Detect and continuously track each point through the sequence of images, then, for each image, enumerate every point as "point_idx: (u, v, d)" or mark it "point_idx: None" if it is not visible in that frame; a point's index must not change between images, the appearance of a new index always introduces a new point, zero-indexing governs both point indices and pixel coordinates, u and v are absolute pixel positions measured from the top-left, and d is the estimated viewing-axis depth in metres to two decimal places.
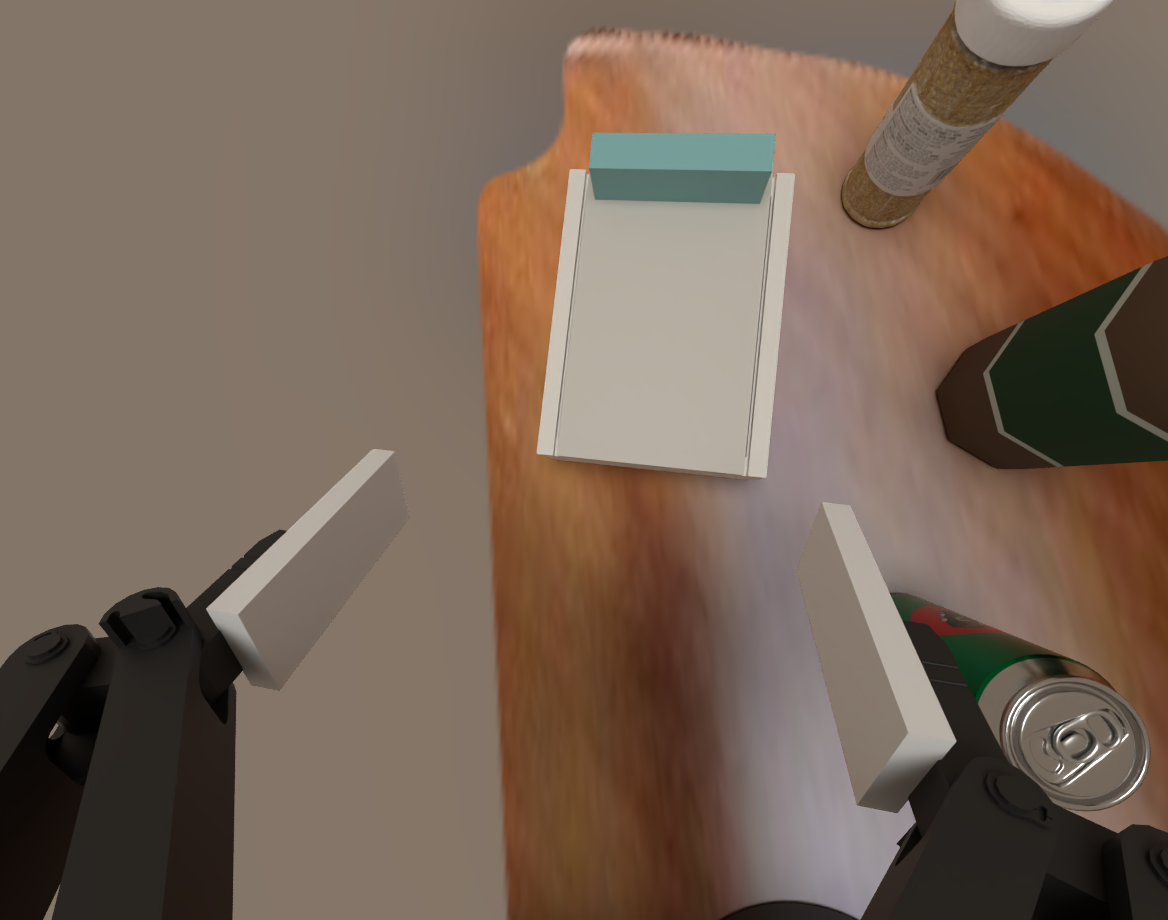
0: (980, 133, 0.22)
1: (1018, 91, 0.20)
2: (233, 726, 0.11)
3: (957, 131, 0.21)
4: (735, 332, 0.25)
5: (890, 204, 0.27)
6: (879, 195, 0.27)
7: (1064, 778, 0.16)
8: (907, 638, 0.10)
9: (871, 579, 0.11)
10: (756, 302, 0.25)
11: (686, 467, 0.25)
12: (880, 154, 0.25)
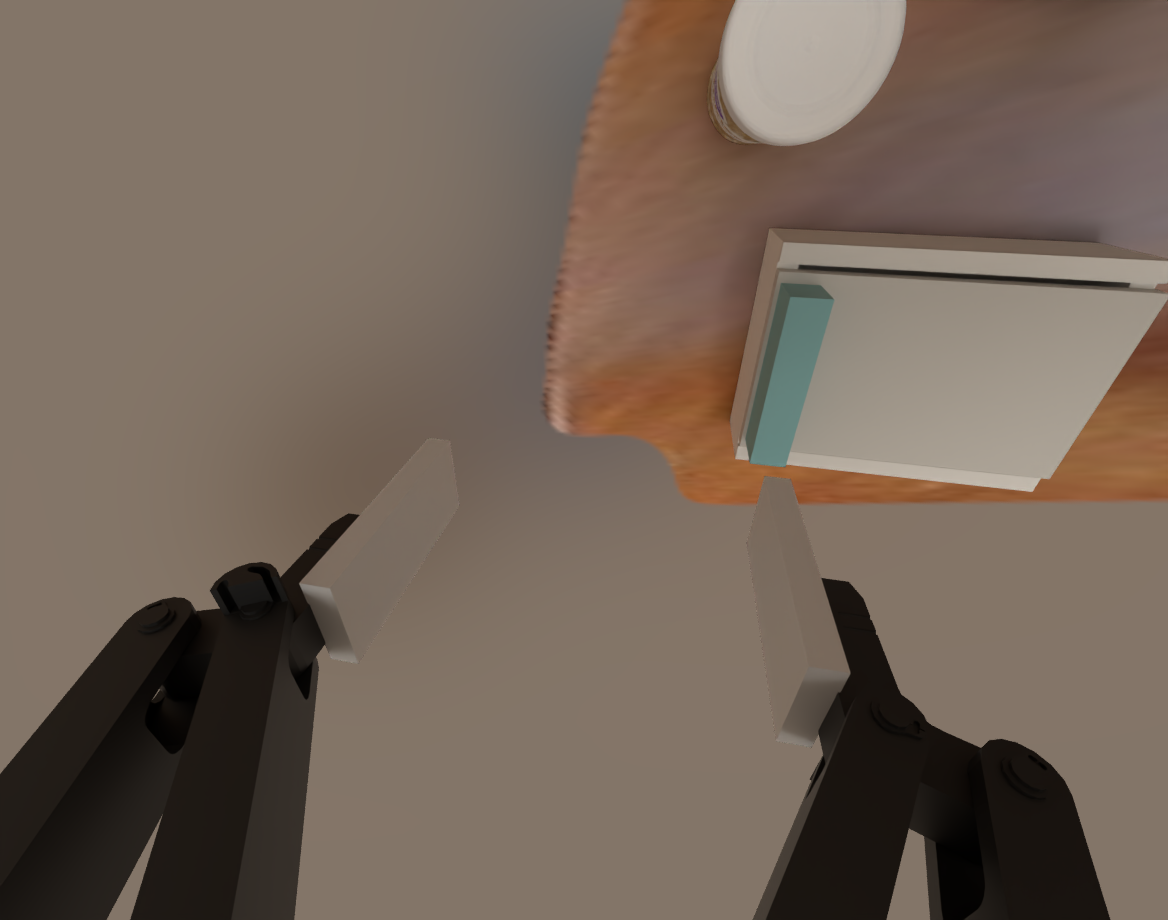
0: None
1: None
2: (313, 701, 0.11)
3: None
4: (973, 307, 0.22)
5: None
6: None
7: None
8: (822, 590, 0.11)
9: (798, 541, 0.12)
10: (943, 284, 0.22)
11: (1127, 357, 0.22)
12: None
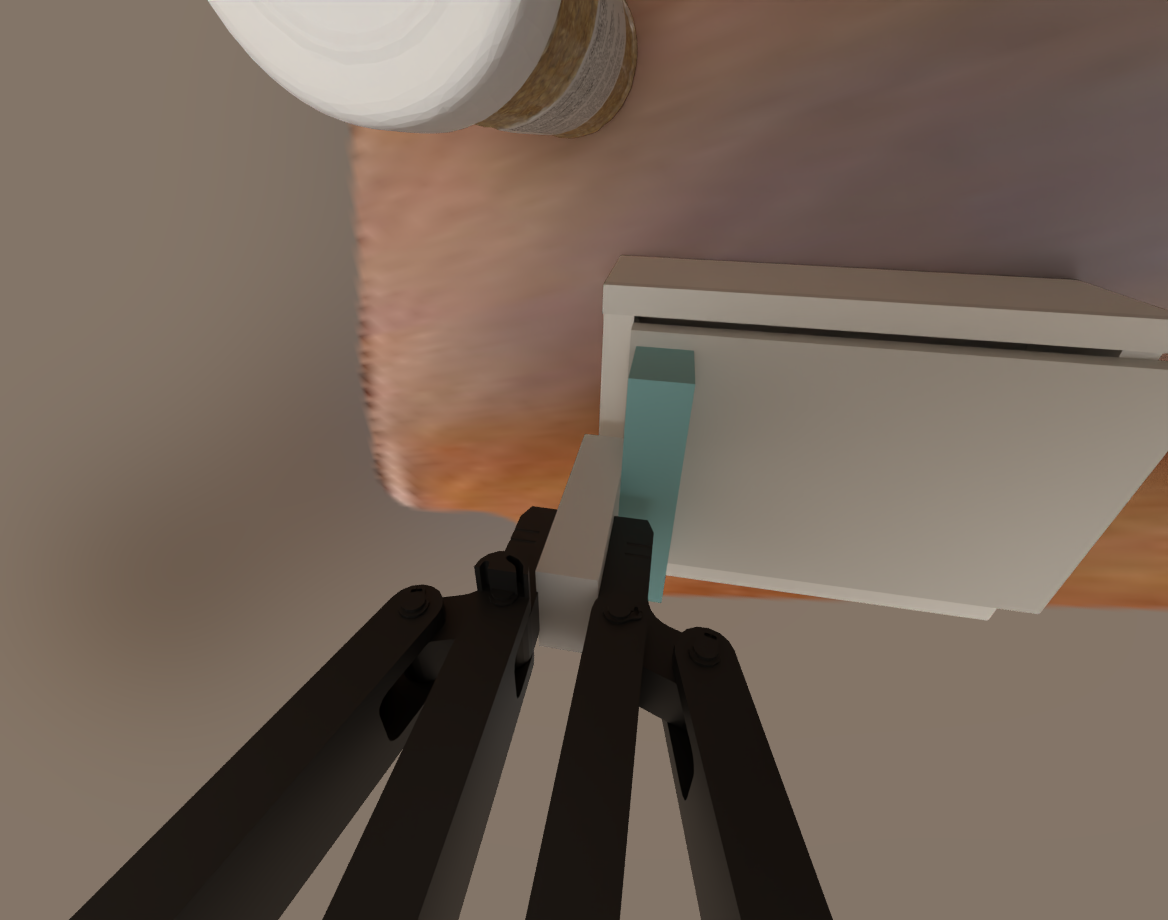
0: None
1: None
2: (522, 700, 0.11)
3: None
4: (921, 387, 0.15)
5: (625, 57, 0.14)
6: (613, 89, 0.14)
7: None
8: (609, 522, 0.13)
9: (607, 486, 0.14)
10: (873, 353, 0.14)
11: (1155, 462, 0.15)
12: (571, 122, 0.13)
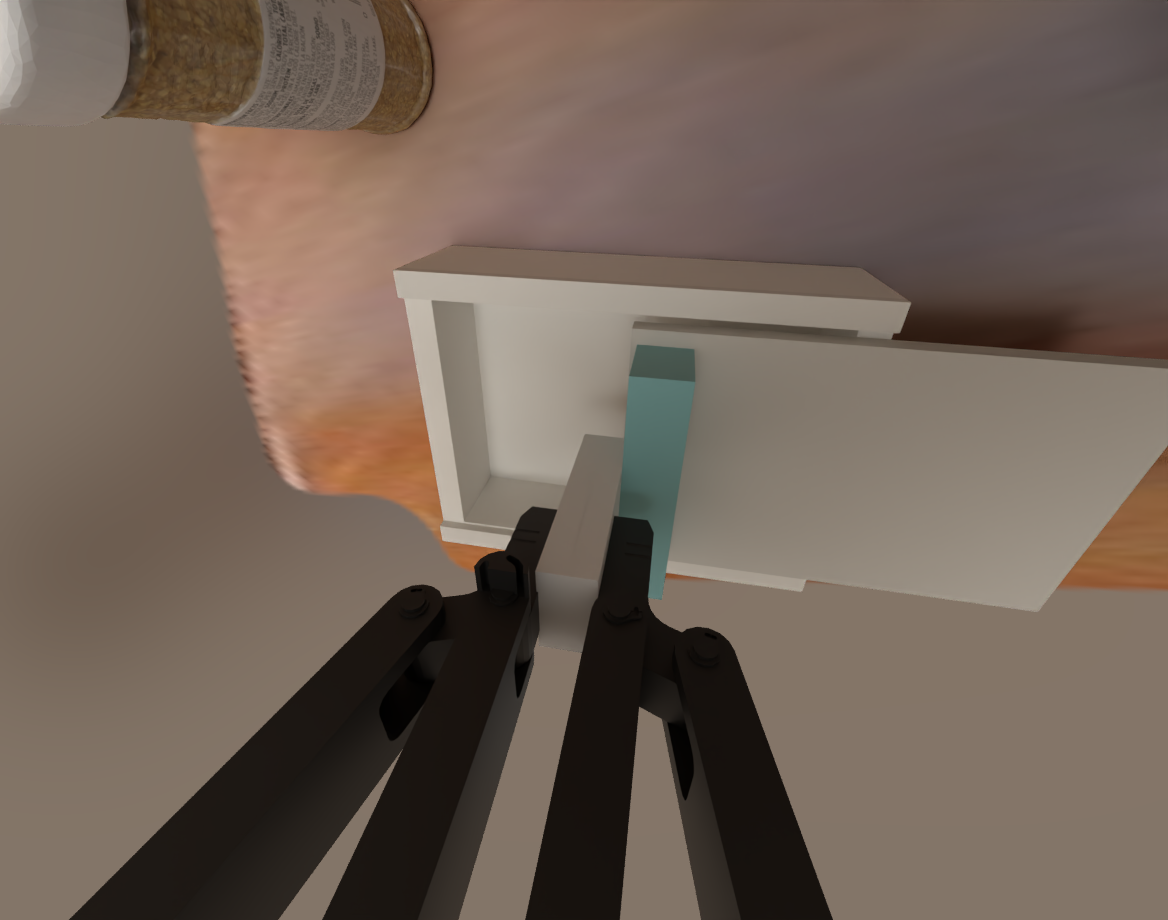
0: None
1: None
2: (522, 700, 0.11)
3: (268, 8, 0.10)
4: (920, 385, 0.15)
5: (398, 58, 0.15)
6: (388, 88, 0.15)
7: None
8: (608, 522, 0.13)
9: (607, 486, 0.14)
10: (872, 352, 0.14)
11: (1152, 460, 0.15)
12: (331, 118, 0.14)
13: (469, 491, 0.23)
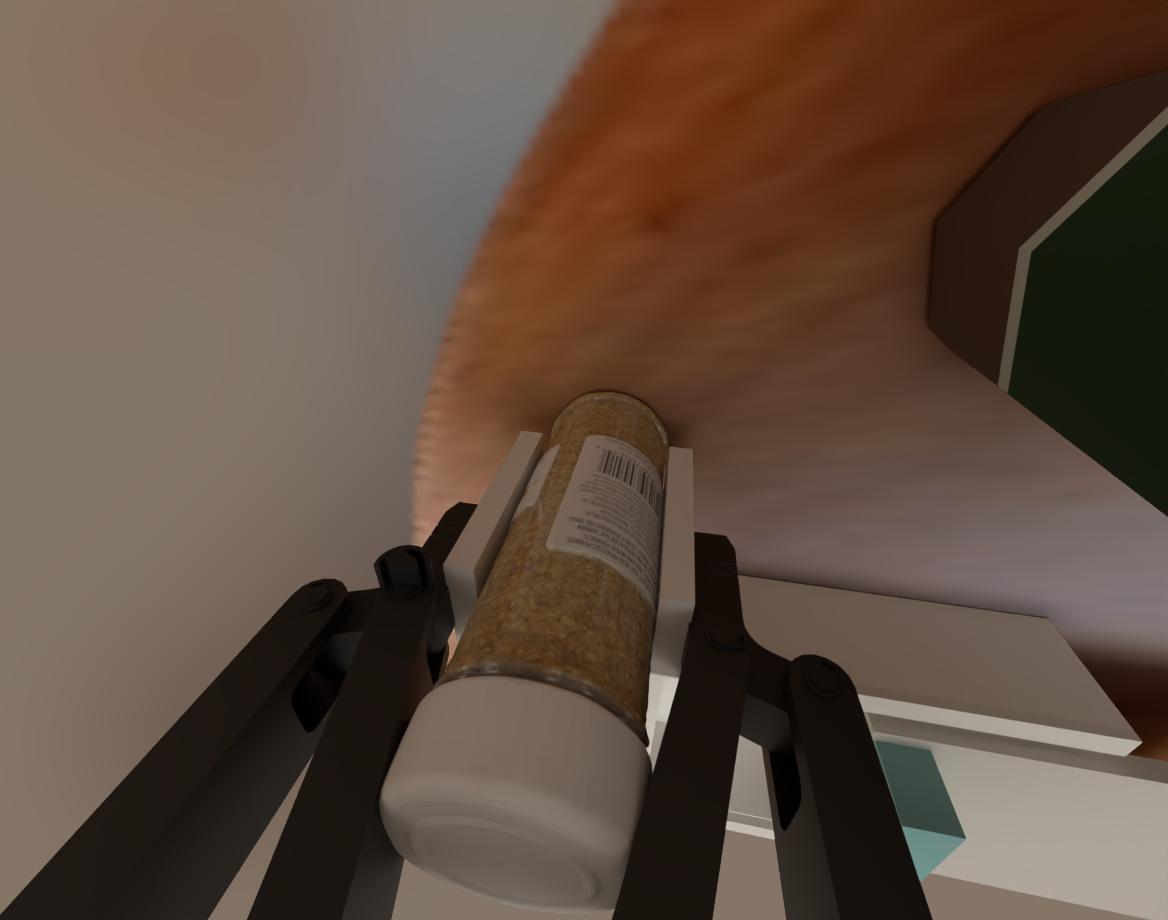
0: (648, 570, 0.12)
1: (635, 644, 0.10)
2: None
3: None
4: (1145, 799, 0.16)
5: None
6: None
7: None
8: (692, 540, 0.12)
9: (683, 500, 0.14)
10: (1105, 775, 0.16)
11: None
12: None
13: None
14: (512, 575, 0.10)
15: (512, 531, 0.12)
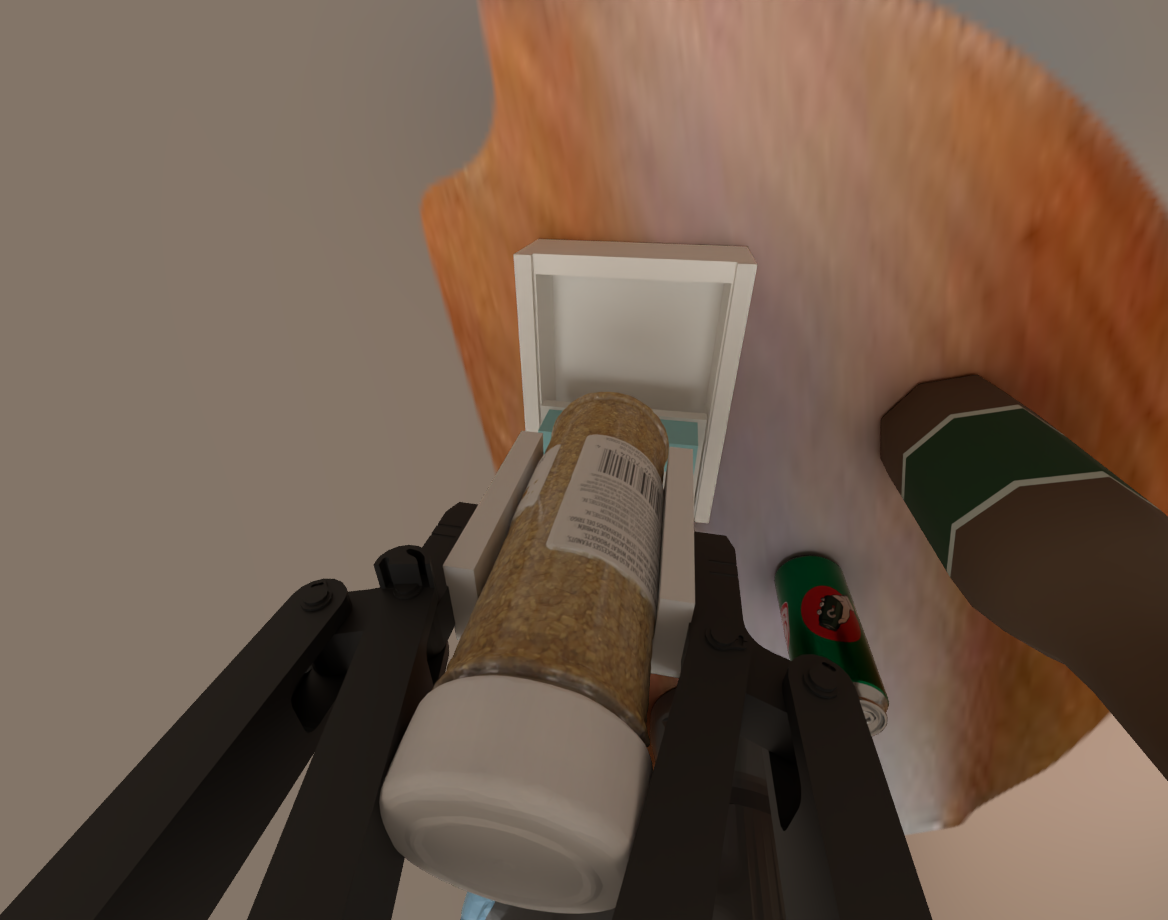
0: (648, 569, 0.12)
1: (635, 643, 0.10)
2: None
3: None
4: None
5: None
6: None
7: None
8: (692, 540, 0.12)
9: (683, 500, 0.14)
10: None
11: None
12: None
13: None
14: (513, 574, 0.10)
15: (512, 530, 0.12)
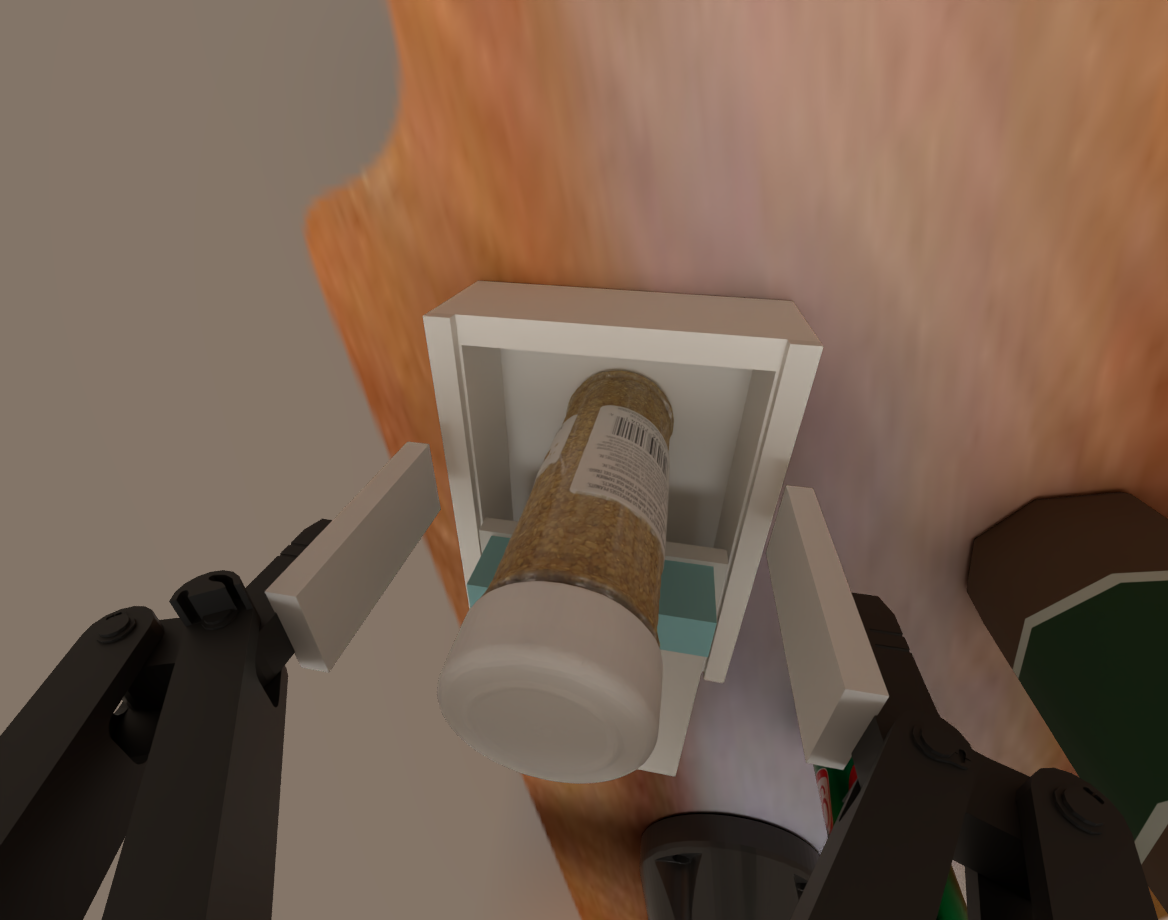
0: (657, 514, 0.13)
1: (647, 568, 0.12)
2: (284, 710, 0.11)
3: (663, 563, 0.14)
4: (670, 697, 0.23)
5: None
6: None
7: None
8: (854, 607, 0.11)
9: (826, 554, 0.12)
10: (695, 679, 0.22)
11: None
12: None
13: None
14: (542, 513, 0.12)
15: (538, 484, 0.14)
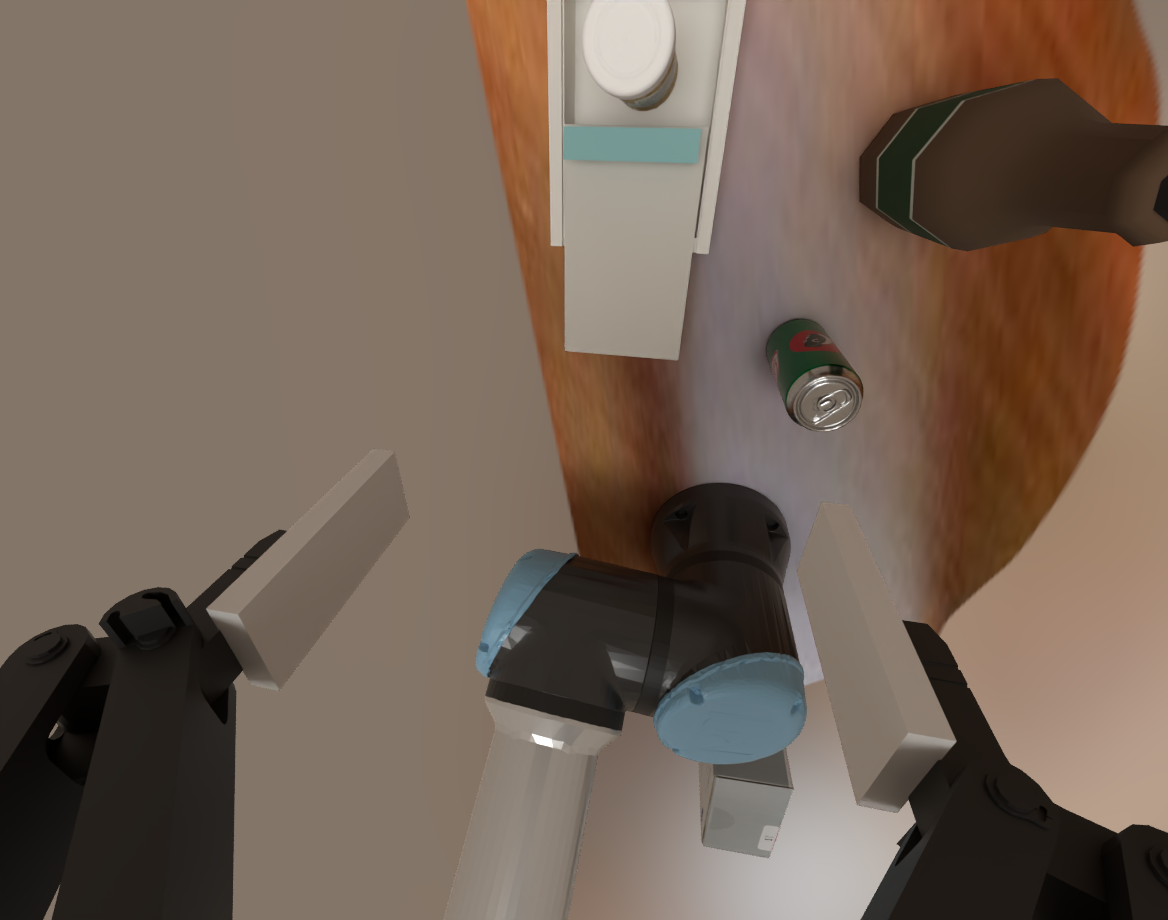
0: None
1: None
2: (233, 726, 0.11)
3: (674, 56, 0.27)
4: (675, 268, 0.37)
5: None
6: None
7: (818, 419, 0.34)
8: (907, 638, 0.10)
9: (871, 579, 0.11)
10: (691, 244, 0.36)
11: (644, 356, 0.41)
12: (653, 101, 0.31)
13: None
14: None
15: None
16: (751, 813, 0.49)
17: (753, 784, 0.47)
